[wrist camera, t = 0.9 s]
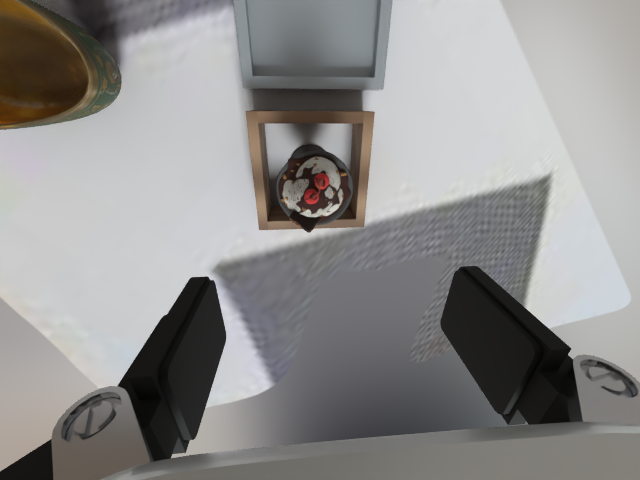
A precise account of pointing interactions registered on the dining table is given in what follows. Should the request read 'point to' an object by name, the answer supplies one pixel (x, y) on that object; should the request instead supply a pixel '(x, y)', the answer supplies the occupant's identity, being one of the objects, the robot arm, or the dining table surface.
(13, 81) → the green bowl
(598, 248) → the dining table surface
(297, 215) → the sundae
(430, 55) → the dining table surface
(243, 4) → the tray
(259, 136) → the holder
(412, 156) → the dining table surface
